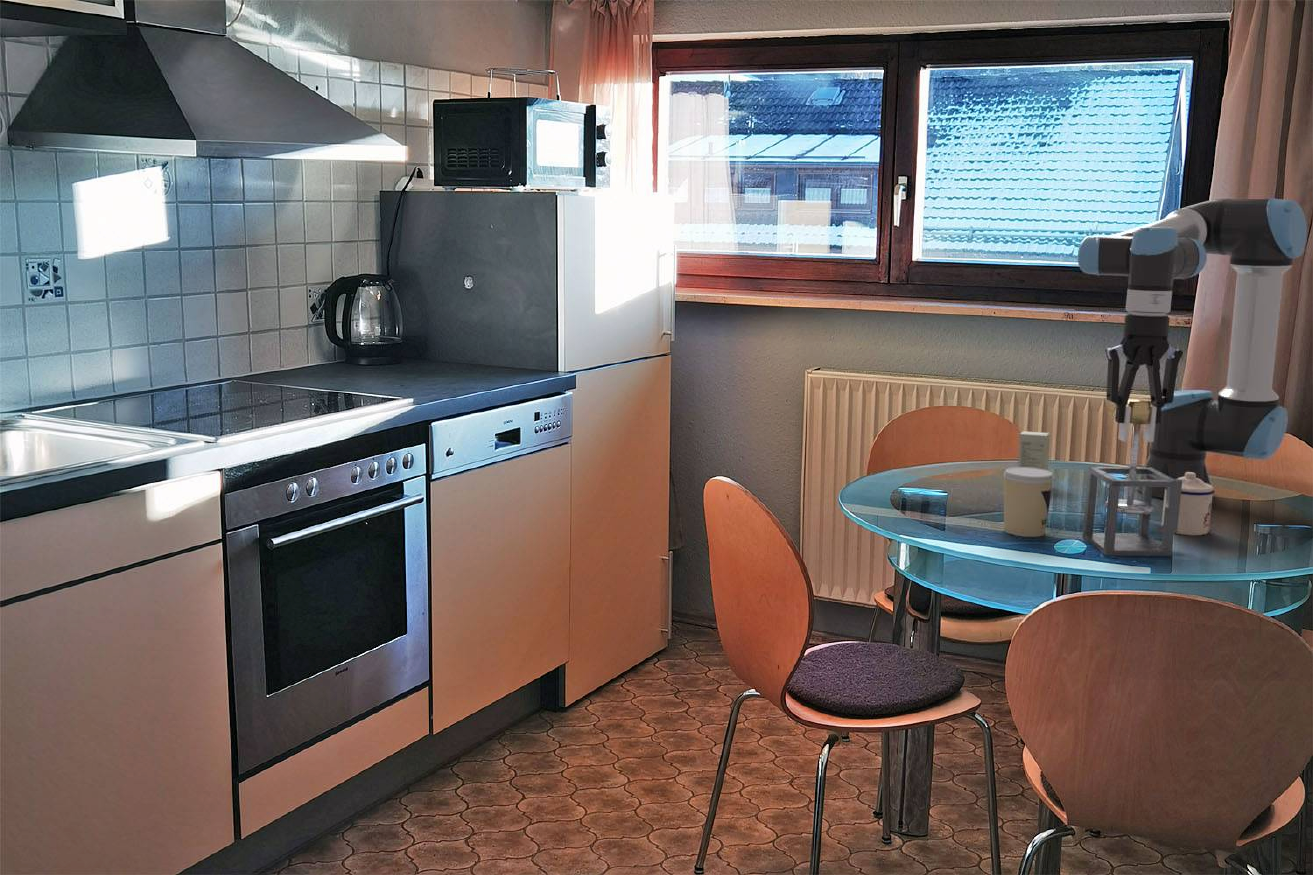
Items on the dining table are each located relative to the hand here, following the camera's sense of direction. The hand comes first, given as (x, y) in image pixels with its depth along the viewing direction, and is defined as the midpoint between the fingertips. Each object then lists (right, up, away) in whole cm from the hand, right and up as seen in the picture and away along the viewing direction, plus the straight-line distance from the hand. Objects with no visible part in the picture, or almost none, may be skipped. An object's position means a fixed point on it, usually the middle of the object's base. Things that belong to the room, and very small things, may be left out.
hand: (1135, 440), depth 221 cm
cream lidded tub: (-16, -18, +14) cm, 28 cm away
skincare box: (-3, -11, +53) cm, 54 cm away
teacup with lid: (+17, -18, +18) cm, 30 cm away
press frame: (+1, -20, +4) cm, 20 cm away
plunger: (0, -13, +2) cm, 13 cm away
